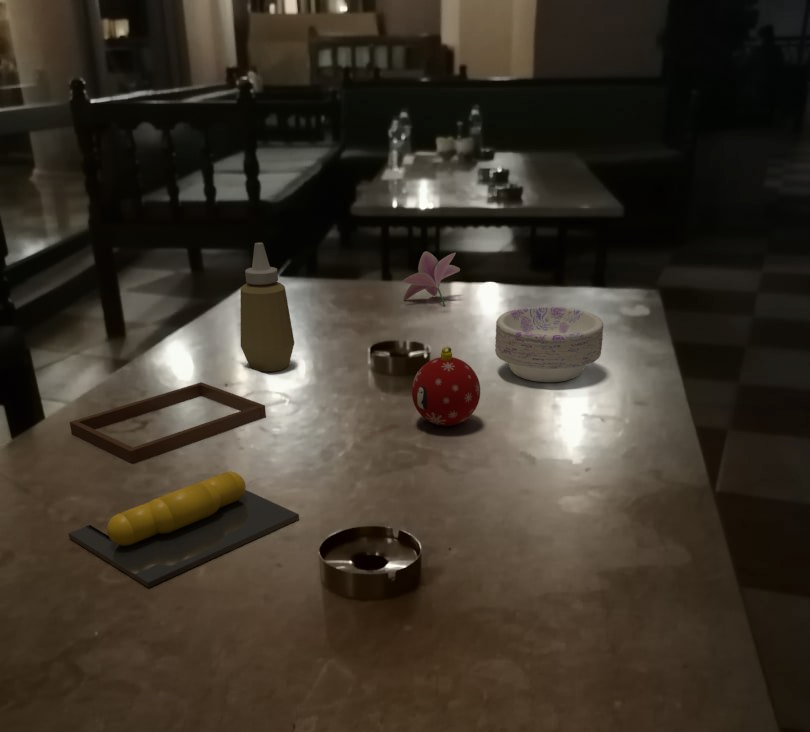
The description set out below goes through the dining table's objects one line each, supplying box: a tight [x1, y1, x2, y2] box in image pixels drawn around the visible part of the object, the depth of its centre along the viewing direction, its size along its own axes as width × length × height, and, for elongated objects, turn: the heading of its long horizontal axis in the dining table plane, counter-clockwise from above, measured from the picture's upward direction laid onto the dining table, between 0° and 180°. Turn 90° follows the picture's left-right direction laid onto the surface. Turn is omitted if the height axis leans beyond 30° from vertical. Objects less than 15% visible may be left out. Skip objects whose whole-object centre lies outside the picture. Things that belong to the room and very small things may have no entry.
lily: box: [402, 250, 461, 307], centre depth 167 cm, size 12×12×10 cm
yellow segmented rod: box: [106, 471, 247, 546], centre depth 90 cm, size 16×4×4 cm, turn 137°
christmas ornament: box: [411, 346, 481, 427], centre depth 113 cm, size 9×9×10 cm
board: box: [68, 489, 300, 589], centre depth 91 cm, size 18×14×1 cm
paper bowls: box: [494, 306, 604, 383], centre depth 131 cm, size 15×15×8 cm
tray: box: [69, 381, 267, 465], centre depth 113 cm, size 20×14×2 cm
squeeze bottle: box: [240, 242, 295, 372], centre depth 132 cm, size 8×8×18 cm
